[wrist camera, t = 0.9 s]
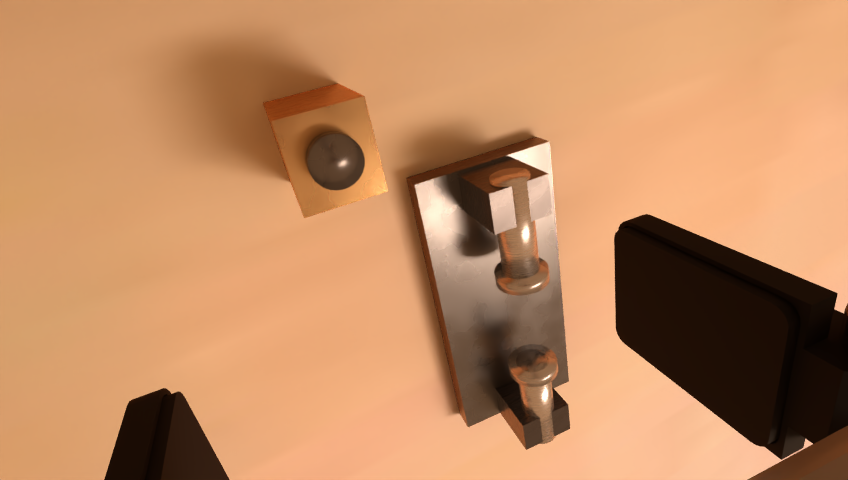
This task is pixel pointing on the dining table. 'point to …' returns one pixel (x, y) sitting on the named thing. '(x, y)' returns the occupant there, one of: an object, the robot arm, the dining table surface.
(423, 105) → the dining table surface
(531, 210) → the shaft rig
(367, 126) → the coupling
